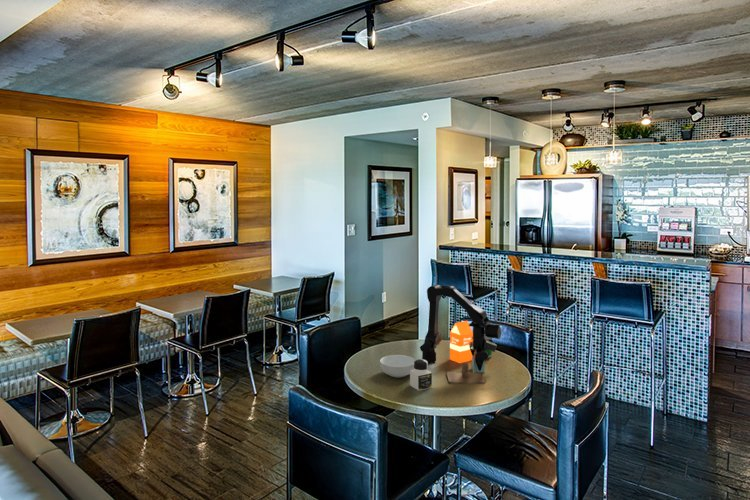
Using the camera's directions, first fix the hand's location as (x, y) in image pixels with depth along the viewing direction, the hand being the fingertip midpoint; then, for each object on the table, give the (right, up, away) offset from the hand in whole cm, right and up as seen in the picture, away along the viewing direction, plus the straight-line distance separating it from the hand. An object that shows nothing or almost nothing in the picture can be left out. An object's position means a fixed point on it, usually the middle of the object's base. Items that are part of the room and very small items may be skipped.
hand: (478, 367), depth 241 cm
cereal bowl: (-39, -3, -5) cm, 39 cm away
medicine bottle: (-30, -4, -20) cm, 36 cm away
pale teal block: (0, -2, 0) cm, 2 cm away
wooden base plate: (-8, -3, -11) cm, 14 cm away
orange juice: (-6, 0, +16) cm, 17 cm away
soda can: (+8, +1, +21) cm, 22 cm away
